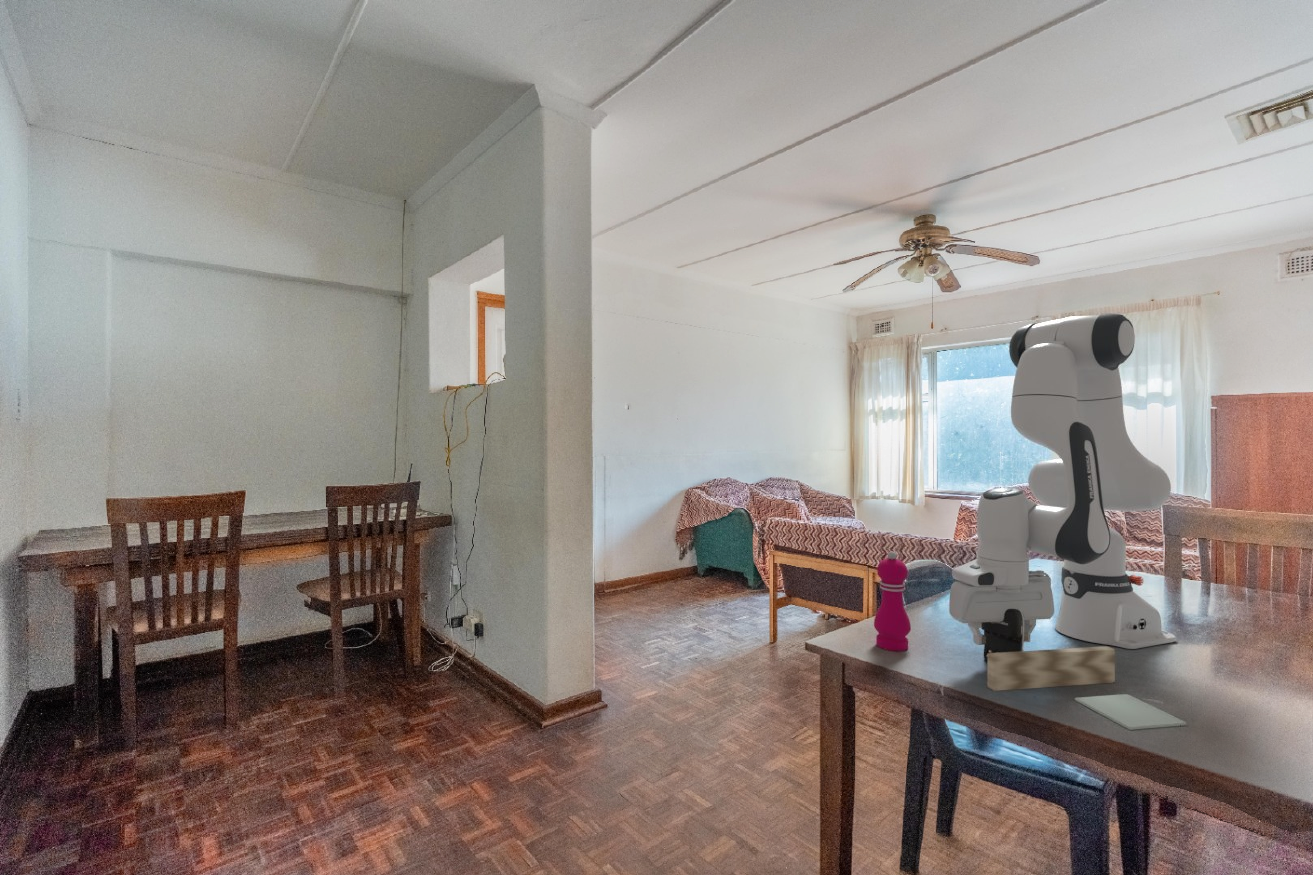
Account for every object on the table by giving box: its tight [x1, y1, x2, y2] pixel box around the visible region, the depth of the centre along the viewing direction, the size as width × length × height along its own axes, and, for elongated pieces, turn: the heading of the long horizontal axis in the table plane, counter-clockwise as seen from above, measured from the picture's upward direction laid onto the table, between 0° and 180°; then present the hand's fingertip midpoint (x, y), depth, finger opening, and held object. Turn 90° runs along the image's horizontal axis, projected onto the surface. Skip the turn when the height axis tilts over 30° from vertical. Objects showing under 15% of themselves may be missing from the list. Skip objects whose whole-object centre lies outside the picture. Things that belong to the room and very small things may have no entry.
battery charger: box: [980, 609, 1025, 662], centre depth 116 cm, size 7×4×11 cm, turn 39°
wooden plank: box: [986, 645, 1116, 692], centre depth 106 cm, size 24×2×6 cm, turn 98°
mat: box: [1074, 693, 1188, 731], centre depth 96 cm, size 10×10×1 cm
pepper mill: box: [873, 551, 912, 652], centre depth 125 cm, size 7×7×20 cm
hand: (1001, 642), depth 116 cm, fingers open, 8 cm apart
